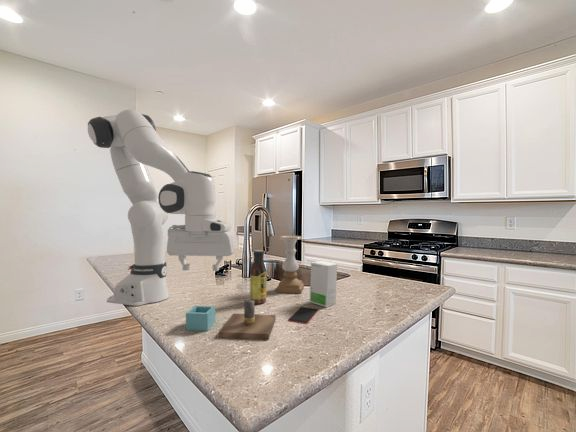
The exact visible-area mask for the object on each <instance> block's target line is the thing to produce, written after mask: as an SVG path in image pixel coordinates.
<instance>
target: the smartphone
mask: <svg viewBox="0 0 576 432" xmlns="http://www.w3.org/2000/svg"><path fill="white" fill-rule="evenodd" d="M318 312H319V309H318V308H311V307H305V306H301V307H299V308H298V309H297V310H296V311H295V312H294V313H293V314H292V315H291V316H290V317H289V318H288V319H287V321H288V322H290V323H295V324H303V325H308V324H309V323H310V322H311V321H312V319H313V318H314V317H315V316H316V315H317V313H318Z"/></svg>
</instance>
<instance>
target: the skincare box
mask: <svg viewBox="0 0 576 432" xmlns="http://www.w3.org/2000/svg"><path fill="white" fill-rule="evenodd" d="M337 276H338V263H334V262H330V261H324V260H316V261H313V262H310V282H309V283H310V284H309V285H310V286H309V287H310V288H309V303H311V304H314V305H318V306H320V307H325V308H328V307H330V306H333V305H335V304H336V301H337V283H338V282H337Z"/></svg>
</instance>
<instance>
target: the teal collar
mask: <svg viewBox="0 0 576 432" xmlns="http://www.w3.org/2000/svg"><path fill="white" fill-rule="evenodd" d="M215 323H216V306H215V305H212V306H211V305H195V306H193V307H192V308H190V309H189V310H188V311H187V312H186V313H185V330H186V331H203V332H208V331H209V330H210V329H211V328H212V327H213V326H214V324H215Z"/></svg>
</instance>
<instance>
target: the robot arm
mask: <svg viewBox="0 0 576 432" xmlns="http://www.w3.org/2000/svg"><path fill="white" fill-rule="evenodd" d="M87 134H88V136H89V138H90V140H91V141H92V143H93V144H94V145H95V146H96V147H99V148H101V149H109V151H110V157H111V162H112V166H113V169H114V171H115V173H116V176H117V179H118V181H119V184H120V186H121V189H122V191H123V193H124V194H125V195H126V196H127V197H128V200H129V201H130V203H131V204H132V206H131V207H130V208H129V210H128V212H127V219H128V222H129V223H130V224H129V225H130V229H131V234H132V239H133V245H134V247H133V248H134V263H133V264H132V265H130V266H128V269H127V270H130V272H129V274H128V275H127V276H125V277H124V278H122V279H121V280H120V281H119V282H118V283H117V284H116V285H115V286H114V290H113V295H111V296H109V297H107V299H106V303H110V304H118V305H125V306H133V307H138V306H142V305H145V304H146V305H147V304H152V303H158V302H162V301H164V300H166V299H168V298H170V296H171V295H170V291H169V288H168V283H167V277H166V276H167V273H168V271H167V270H168V269H167V262H166V253H167V255H169V256H175V257H176V256H177V257H178V261H179V262H180V264H181V266H182V268H181V269H182V271H190V265H191V264H190V263H187V261H186V258H187V256H188V257H191V256H192V257H194V256H195V257H215V260H217V261H216V263H214V264H212V272H219V270H220V264H221V262H222V260H223V259H224V257H230V256H233V254H234V253H235V242H234V236H233V233H232V231H231V228H232V226H231V223H230V222H229V223H228V222H226V221H223V220H219V219H217V218H216V211H215V202H216V186H215V181H214V179H213V176H212V175H211V174H209V173H206V172H200V171H196V170H195V171H194V170H191V171H190V170H189V169H188V167H186V165H185V164H184V163H183V161H182V160H181V159H180V158H179V157H178V155H176V154H175V153H174V152H173V150H171V148H169V147H168V145H167V144H166V143H165V142H164V141H163V139H162V138H161V136H160V135H159V134H158V132H157V129H156V125H155V122H154V120H153V119H152V118H151V117H150V115H147V114H144V113H143V114H142V113H141V112H139V111H137V110H135V109H125V110H122V111H120V112H119V113H118V114H115V115H107V116H103V117H102V116H97V117H96V116H95V117H93V118H90V119H89V121H88V122H87ZM147 166H148V167H151V168H154V169H157V170H159V171H161V172H163V173H165V174H167V175H168V176H169V177H170V178H171V179H172V180H173V182H170V183H167V184H165V185H163V186H162V187H161V189H160V190H159V191H158V189H157V187H156V185H155V183H154V182H153V179H152V177H151V174H150V172H149V169H148V167H147ZM169 214H171V215H184V224H180V225H179V224H173V225H172V226H170V227H169V228H168V229H167V243H166V241H165V238H164V231H163V230H164V229H163V225H165V223H166V222H167V220H168V217H169Z"/></svg>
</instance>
